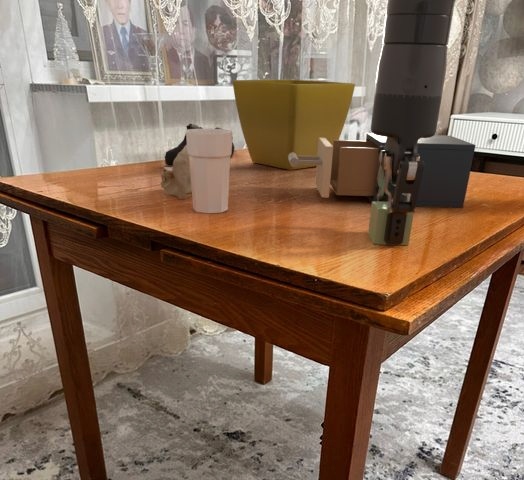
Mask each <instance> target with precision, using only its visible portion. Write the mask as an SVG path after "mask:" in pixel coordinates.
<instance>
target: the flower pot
mask: <svg viewBox="0 0 524 480" xmlns="http://www.w3.org/2000/svg"><path fill="white" fill-rule="evenodd" d="M355 87H356V83H355V82H341V81H339V82H338V81H324V80H306V79H305V80H304V79H233V80H232V88H233V94H234V100H235V106H236V110H237V111H236V112H237V116H238V120H239V124H240V128H241V132H242V135H243V139H244V142H245V145H246V148H247V151H248V154H249V157H250V159H251V162H252V163H256V164H260V165H265V166H269V167H272V168H273V167H274V168H279V169H283V170H288V171H289V170H290V171H294V170H299V169H300V170H301V169H305V168H312V167H317V165H305V164H298V166H297V167H292V166H291V165H290V162H289V159H288V155H289V154H290V153H292V152H293V153H295V154H296V155H297V156H317V154H318V140H319V138H326V139H327V140H328V141H329V143H330V144H331V145H332V146H333V140H340V138H341V135H342V133H343V129H344V127H345V124H346V120H347V117H348V114H349V111H350V108H351V104H352V101H353V96H354V92H355ZM316 161H317V160H316Z"/></svg>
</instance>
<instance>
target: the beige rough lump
mask: <svg viewBox="0 0 524 480" xmlns="http://www.w3.org/2000/svg"><path fill="white" fill-rule="evenodd" d="M160 179H161V181H160V186H161V188H162V189H163V191H164V192H165V195H173V196H174V197H177V198H178V199H179V200H186V199H187V195H188V194H192V186H191V174H190V163H189V155H188V152H187V144H186V145H185V147H184V148H183V150H182V151H181V152H179V153H178V155H177V157H176V158H175V159H174V161H173V165H172V166H164V167H163V171H161V172H160Z"/></svg>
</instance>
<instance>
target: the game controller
mask: <svg viewBox="0 0 524 480" xmlns="http://www.w3.org/2000/svg"><path fill="white" fill-rule="evenodd" d="M188 129H204V127H202V126H199V125H197V124H195V123H189V124H188V125H186V130H188ZM214 129H222V128H221V127H218V126H217V127H215V128H214ZM233 140H234V138H233V136H232V153H231V156H230V160H232V158H233V156H234V154H235V150H236V149H235V144H234V142H233ZM186 144H187V139H186V133H185V134H184V137H183V140H182V141H181V142H180V143H179V144H178V145H177V146H176V147H173V148H171V149H169V150H167V151H166V152H165V155H164V162H165V164H166V165H167V166H168V167H173V161H174V159H175V158H176V157H177V155H178V153H179V152H181V151H182V150H183V148H184V147H185V145H186Z"/></svg>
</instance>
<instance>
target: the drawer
mask: <svg viewBox="0 0 524 480" xmlns="http://www.w3.org/2000/svg"><path fill="white" fill-rule="evenodd" d="M378 149H379V146H377V145H376V144H375V143H373V142H372V141H366V140H359V139H357V140H354V139H339V140H333V146H332V145H331V144H330V143H329V141H328V140H327V139H326V138H319V140H318V154H317V156H297V155H296V154H295V153H293V152H292V153H290V154H289V155H288V159H289V162H290V165H291V166H292V167H297V166H298V164H305V165H317V166H316V169H315V181H314V182H315V187H316V188H317V190H318V193H319V195H320V197H321V198H325V199H326V198H330V189H331V188H332V189H333V191H334V193H335V195H336V196H355V197H356V196H359V197H366V196H373V195H374V186H375V178H376V170H377V162H378ZM316 160H317V161H316Z"/></svg>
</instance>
